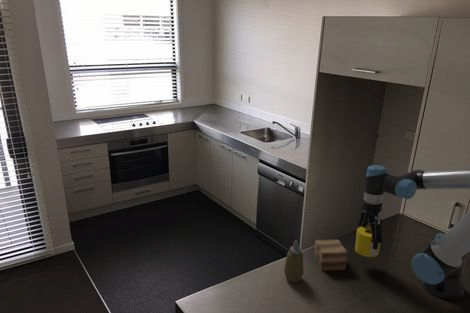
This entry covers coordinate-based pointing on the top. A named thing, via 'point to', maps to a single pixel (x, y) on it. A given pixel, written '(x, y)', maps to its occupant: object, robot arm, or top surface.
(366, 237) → the yellow toilet paper roll
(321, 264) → the tower block bottom
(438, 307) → the top surface
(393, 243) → the top surface
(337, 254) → the tower block top
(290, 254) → the squeeze bottle
